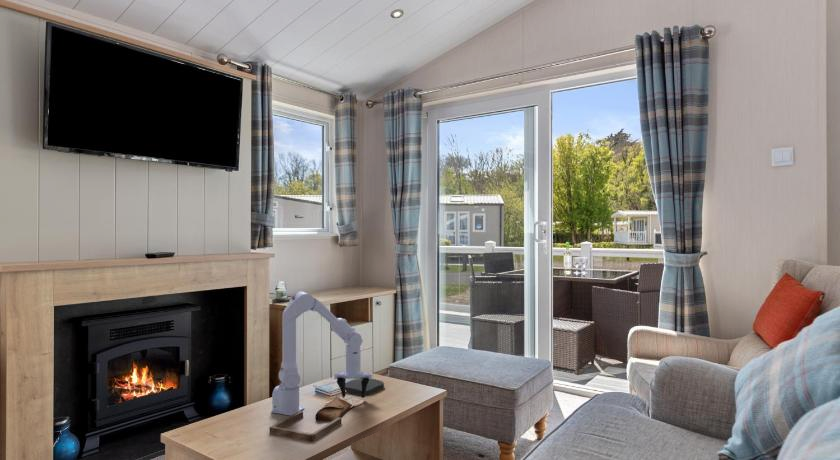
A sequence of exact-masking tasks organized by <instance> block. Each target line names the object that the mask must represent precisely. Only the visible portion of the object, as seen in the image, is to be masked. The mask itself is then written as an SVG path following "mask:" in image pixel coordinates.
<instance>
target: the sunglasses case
mask: <svg viewBox="0 0 840 460" xmlns="http://www.w3.org/2000/svg"><path fill="white" fill-rule="evenodd" d="M352 405H353V404H352V403H350V402H348V401H345V400H344V399H341V398H339V397H338V396H337V395H336V396H335V397H334V398H333V399H332V400H330V401H329V402H328V403H326V404H325V405H324V406H323V407H322V408H320V409H319V410H318V411H317V412H316V414H315V416H314V417H315V418H314V420H315V421H316V422H322V423H323V422H325V423H330V422H332V421H333V420H335V419H337V418H338V417H339V418H341V419H342V417H343V416H344V415H345V414H346V413H347V412H348V411H350V409H349V408H350V407H351V406H352Z"/></svg>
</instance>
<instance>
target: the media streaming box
mask: <svg viewBox="0 0 840 460" xmlns="http://www.w3.org/2000/svg"><path fill="white" fill-rule="evenodd" d="M362 380H363V379H352V380H351V379H350V380H349V381H346V382H345V390H346V391H347V392H348V393H347V394H351V393H352V395H355V396H361V397H362V383H361V381H362ZM384 389H385V383H384V382H383V381H382V380H379V379H375V378H372V379H369V382H368V384H367V387H366V391H365V396H370V395H373V394H375V393H377V392H381V391H382V390H384Z"/></svg>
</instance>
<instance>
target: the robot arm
mask: <svg viewBox="0 0 840 460" xmlns="http://www.w3.org/2000/svg"><path fill="white" fill-rule="evenodd" d="M308 311H312V312H317V314H318V315H320V316H321V317H322V318H324V319H325V321H327V322H328V323H329V324H330V329H331V331H332V332H334V333H335V334H336V335H337V336H338V337H339V338H340V339H341V340H342V341H343V342H344V344H345V371H344V372H343V371H342V372H335V373H334V380H336V383H337V385H338V387H339V389H340V392H341V396H342V398H345V397H346V394H347V393H346V392H345V383H346V382H347V379H348V380H349V379H350V380H351V379H352V380H355V379H363V380H362V381H361V383H362V396H361V398H362V399H364V398H365V391H366V387H367V384H368V382H369V379H373V373H372V372H363V371H362V370H361V366H362V365H361V361H362V359H361V356H362V355H361V346H362V344H363V339H362V335H361V334H360V333H358V332H357V331H356V329H355V327H352V326H351V325H350V324H349V323H348V320H347V319H345V318H342V317H336V315H334V314H333V313H332V312H331V310H329V308H328V307H327V306H325V305H324V304H323V303H322V302H321V301H320V300H319V299H317V298H315V297H314V296H313V295H312V294H310V293H308V292H306V291H303V290H302V291H297V292H296V293H294V294H293V295H291V296H290V299H289V301H288V303H287V304H286V307H285V308H284V309H283V312H282V315H281V316H282V323H281V324H282V328H281V329H282V333H281V334H282V337H281V338H282V343H281V344H282V345H281V347H282V349H281V350H282V353H281V354H282V361H281V363H280V370H279V371H278V375H277V376H278V379H279V381H280V383H279V385H277V386H275V387H274V388H273V391H272V394H271V395H272V396H271V397H272V401H271V402H272V404H271V406H272V410H270V412H271V413H274V414H281V415H286V416H292V415H294V414H296V413H298V412H299V411H303V410H304V409H305V406H300V382H301V376H300V374H299V371H298V363H297V319H298V318H299V317H300V316H302V314H303V313H306V312H308Z"/></svg>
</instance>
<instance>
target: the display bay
mask: <svg viewBox="0 0 840 460" xmlns="http://www.w3.org/2000/svg"><path fill="white" fill-rule="evenodd" d="M302 418H304V411H303V410H301V411H299V412H297V413H295V414H293V415H289V417H286V418H285V419H282V420H281V421H279V422H277V423H275V424H273V425H272V426H269V434H271V435H276V436H281V437H286V438H292V439H296V440H302V441H308V442H311V443H313V442H316V441H317V440H318V439H320V438H321V437H323V436H324V435H326V434H328V433H329V432H331V431H333V430H334V429H337V427H338V426H341V424H342V417H341V418H339V417H338V418H337V419H335V420H333V421H332V422H328V423H327V424H325V425H324V426H322V427H321V428H319V429H317V430H315V431H314V432H313V433H312V432H305V431H301V430H296V429H289V428H286V427H288V426H289V425H292V424H294V423H295V422H297V421H299V420H301V419H302Z"/></svg>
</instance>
